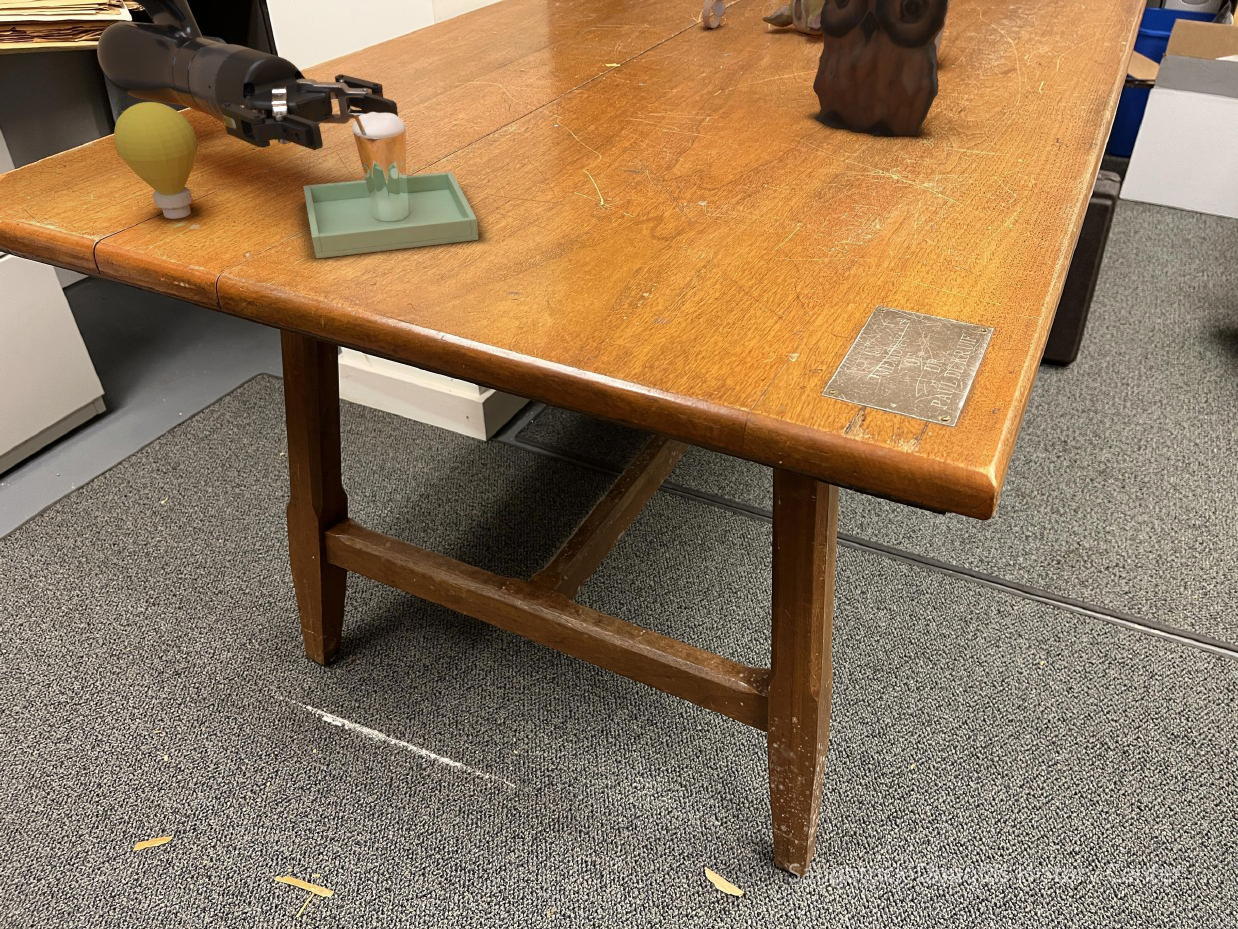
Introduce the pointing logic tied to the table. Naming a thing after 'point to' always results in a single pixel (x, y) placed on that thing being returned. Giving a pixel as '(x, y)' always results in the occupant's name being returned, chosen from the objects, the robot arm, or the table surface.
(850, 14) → the owl
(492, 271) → the table surface
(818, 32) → the ceramic sculpture
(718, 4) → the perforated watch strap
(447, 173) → the tray
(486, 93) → the table surface
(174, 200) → the light bulb
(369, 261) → the table surface
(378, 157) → the milkshake
